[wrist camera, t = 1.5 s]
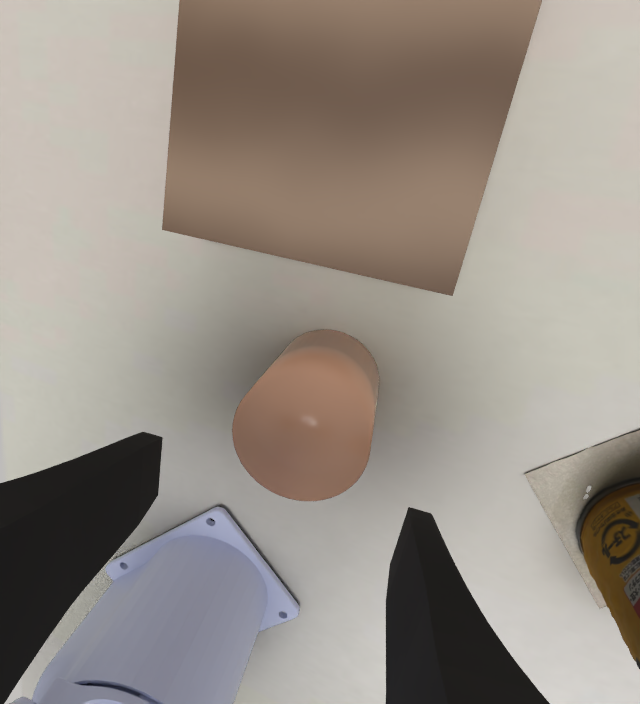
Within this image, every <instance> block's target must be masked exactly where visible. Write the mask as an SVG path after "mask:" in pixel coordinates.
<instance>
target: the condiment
mask: <svg viewBox="0 0 640 704" xmlns="http://www.w3.org/2000/svg"><path fill="white" fill-rule="evenodd" d="M525 476H526V478H527V479H528V481H529V483H530V485H531V487H532V488H533V490H534V492H535V494H536V496H537V497H538V499H539V501H540V503H541V505H542V506H543V508H544V510H545V512H546V513H547V515H548V517H549V519H550V521H551V523H552V524H553V526H554V528H555V530H556V531H557V533H558V535H559V537H560V539H561V540H562V542H563V544H564V546H565V547H566V549H567V551H568V553H569V555H570V556H571V558H572V560H573V562H574V564H575V565H576V567H577V569H578V571H579V573H580V574H581V576H582V578H583V580H584V582H585V583H586V585H587V587H588V589H589V591H590V592H591V594H592V596H593V598H594V600H595V601H596V603H597V605H598V607H599V609H600V608H603V607H606V606H607V607H608V608H609V609H610V612H611V615H612V617H613V618H614V619H615V621H616V623H617V626H618V628H619V630H620V633H621V635H622V638H623V640H624V642H625V643H626V645H627V646H628V648H629V651H630V653H631V655H632V657H633V659H634V660H635V661H636V663H637V666H638V667H639V669H640V430H639V431H636V432H633V433H629V434H626V435H623V436H621V437H618V438H616V439H613V440H610V441H608V442H605V443H603V444H600V445H597V446H594V447H592V446H591V447H590V448H587V449H585V450H584V451H582V452H580V453H578V454H575V455H573V456H570V457H568V458H565V459H561V460H558V461H555V462H552V463H550V464H549V465H547V466H544V467H542V468H539V469H537V470H534V471H531V472H529V473H526V474H525ZM589 485H591V486H592V487H591V490H590V492H588V493H587V492H586V488H587V486H589ZM585 494H588V495H589V497H588V498H587V499H583V497H584V496H585Z"/></svg>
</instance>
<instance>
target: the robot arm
mask: <svg viewBox="0 0 640 704" xmlns="http://www.w3.org/2000/svg"><path fill="white" fill-rule="evenodd" d="M161 450H162V437H159V436H156V435H152V434H149V433H145V432H141V433H138V434H136V435H133V436H130V437H128V438H125V439H123V440H120V441H118V442H115V443H113V444H110V445H108V446H105V447H103V448H100V449H98V450H95V451H93V452H90V453H88V454H85V455H83V456H80V457H78V458H75V459H73V460H70V461H67V462H64V463H62V464H59V465H56V466H53V467H50V468H48V469H45V470H42V471H39V472H36V473H33V474H30V475H27V476H24V477H21V478H17V479H14V480H10V481H7V482H3V483H0V704H4V703H5V701H6V700H7V698H8V697H9V695H10V693H11V692H12V690H13V689H14V687H15V686H16V684H17V683H18V681H19V680H20V678H21V677H22V675H23V674H24V672H25V671H26V669H27V668H28V666H29V665H30V663H31V662H32V660H33V659H34V657H35V656H36V654H37V653H38V651H39V650H40V649H41V647H42V646H43V644H44V643H45V641H46V640H47V638H48V637H49V635H50V634H51V633H52V631H53V630H54V628H55V627H56V626H57V624H58V623H59V621H60V620H61V619H62V617H63V616H64V614H65V613H66V611H67V610H68V609H69V607H70V606H71V605H72V603H73V602H74V601H75V600H76V598H77V597H78V596H79V595H80V593H81V592H82V591H83V590H84V588H85V587H86V586H87V585H88V584H89V583H90V581H91V580H92V579H93V578H94V577H95V576H96V574H97V573H98V572H99V571H100V570H101V569H102V567H103V566H104V565H105V564H106V563H107V562H108V560H109V559H110V558H111V557H112V556H113V555H114V553H115V552H116V551H117V550H118V549H119V548H120V546H121V545H122V544H123V543H124V542H125V540H126V539H127V538H128V537H129V536H130V535H131V533H132V532H133V531H134V530H135V528H136V527H137V526H138V525H139V523H140V522H141V520H142V519H143V517H144V516H145V514H146V513H147V511H148V510H149V508H150V507H151V505H152V504H153V502H154V500H155V499H156V497H157V496H158V488H159V475H160V462H161ZM210 518H212V519H213V520H214V521H211V520H210ZM106 572H107V574H108V575H109V576H110V578H111V579H112V580H113V583H112V584H111V585H110V587H109V588H108V589H107V590H106V592H105V593H104V594H103V595H102V597H101V598H100V599H99V601H98V602H97V603H96V604H95V606H94V607H93V608H92V610H91V611H90V612H89V613H88V615H87V616H86V617H85V618H84V620H83V621H82V622H81V624H80V625H79V626H78V627H77V629H76V630H75V631H74V633H73V634H72V635H71V636H70V638H69V639H68V640H67V641H66V643H65V644H64V645H63V647H62V648H61V649H60V650H59V652H58V653H57V654H56V656H55V657H54V658H53V659H52V661H51V662H50V663H49V665H48V666H47V668H46V669H45V671H44V672H43V674H42V676H41V677H40V679H39V682H38V684H37V686H36V689H35V691H34V694H33V698H32V700H30V699H28V698H26V697H20V698H18V699H16V700H15V701H13V702H12V703H9V704H233V703H234V700H235V697H236V695H237V692H238V689H239V686H240V683H241V680H242V677H243V674H244V671H245V669H246V666H247V663H248V660H249V657H250V654H251V651H252V648H253V645H254V643H255V640H256V637H257V634H258V632H260V631H263V630H265V629H268V628H270V627H273V626H276V625H278V624H281V623H283V622H286V621H288V620H291V619H294V618H296V617H297V616H298V614H299V611H300V607H299V605H298V603H297V602H296V601H295V600H294V598H293V597H292V596H291V594H290V593H289V592H288V590H287V589H286V588H285V587H284V585H283V584H282V583H281V581H280V580H279V579H278V577H277V576H276V575H275V573H274V572H273V571H272V570H271V568H270V567H269V566H268V564H267V563H266V562H265V560H264V559H263V558H262V557H261V555H260V554H259V553H258V551H257V550H256V549H255V547H254V546H253V545H252V543H251V542H250V541H249V540H248V538H247V537H246V536H245V534H244V533H243V532H242V530H241V529H240V528H239V527H238V525H237V524H236V523H235V521H234V520H233V519H232V517H231V516H230V515H229V514H228V512H227V511H226V510H225V509H224V508H221V507H215V508H213V509H211V510H209V511H207V512H205V513H203V514H201V515H199V516H197V517H195V518H194V519H192V520H190V521H188V522H186V523H184V524H182V525H180V526H178V527H176V528H174V529H172V530H170V531H168V532H166V533H165V534H163V535H161V536H159V537H157V538H155V539H153V540H151V541H149V542H147V543H145V544H143V545H141V546H139V547H137V548H136V549H134V550H132V551H130V552H128V553H126V554H124V555H122V556H120V557H118V558H116V559H114V560H112V561H111V562H110V563H109V564H108V565H107V566H106ZM282 611H283V612H282ZM284 612H285V613H284ZM386 704H550V703H549V702H548V701H547V700H546V699H545V698H544V696H543V695H542V694H541V693H540V692H539V691H538V689H537V688H536V687H535V685H534V684H533V683H532V682H531V680H530V679H529V678H528V677H527V675H526V674H525V673H524V672H523V670H522V669H521V668H520V667H519V665H518V664H517V663H516V661H515V660H514V659H513V657H512V656H511V655H510V653H509V652H508V651H507V649H506V648H505V646H504V645H503V644H502V642H501V641H500V639H499V638H498V636H497V635H496V633H495V632H494V631H493V629H492V628H491V626H490V625H489V623H488V622H487V620H486V618H485V617H484V615H483V614H482V612H481V610H480V609H479V607H478V605H477V603H476V602H475V600H474V598H473V597H472V595H471V593H470V591H469V590H468V588H467V586H466V584H465V582H464V580H463V579H462V577H461V575H460V573H459V571H458V569H457V567H456V565H455V563H454V561H453V559H452V557H451V555H450V553H449V551H448V549H447V547H446V544H445V542H444V540H443V538H442V536H441V534H440V531H439V529H438V527H437V524H436V522H435V520H434V518H433V516H432V514H431V513H427V512H424V511H420V510H417V509H413V508H410V507H409V508H408V511H407V514H406V517H405V520H404V523H403V526H402V529H401V532H400V536H399V539H398V542H397V545H396V548H395V551H394V554H393V557H392V560H391V563H390V570H389V578H388V587H387V597H386Z"/></svg>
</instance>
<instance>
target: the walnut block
mask: <svg viewBox="0 0 640 704" xmlns="http://www.w3.org/2000/svg"><path fill="white" fill-rule="evenodd" d="M541 2H542V0H180V2H179V15H178V28H177V41H176V55H175V68H174V81H173V94H172V107H171V120H170V133H169V147H168V160H167V173H166V186H165V199H164V212H163V226H162V230H166V231H170V232H175V233H179V234H183V235H188V236H192V237H196V238H201V239H205V240H210V241H214V242H218V243H223V244H227V245H232V246H236V247H240V248H245V249H249V250H253V251H258V252H262V253H267V254H271V255H275V256H280V257H284V258H289V259H293V260H297V261H302V262H306V263H311V264H315V265H319V266H324V267H328V268H332V269H337V270H341V271H346V272H350V273H354V274H359V275H363V276H368V277H372V278H376V279H381V280H385V281H389V282H394V283H398V284H403V285H407V286H411V287H416V288H420V289H425V290H429V291H433V292H438V293H442V294H446V295H451V296H453V293H454V289H455V286H456V283H457V279H458V276H459V273H460V269H461V266H462V263H463V260H464V256H465V253H466V250H467V246H468V243H469V240H470V236H471V233H472V230H473V227H474V223H475V220H476V217H477V213H478V210H479V207H480V203H481V200H482V197H483V194H484V190H485V187H486V184H487V180H488V177H489V174H490V170H491V167H492V164H493V161H494V157H495V154H496V151H497V147H498V144H499V141H500V137H501V134H502V131H503V128H504V124H505V121H506V118H507V114H508V111H509V108H510V104H511V101H512V98H513V95H514V91H515V88H516V85H517V81H518V78H519V75H520V71H521V68H522V65H523V62H524V58H525V55H526V52H527V48H528V45H529V42H530V38H531V35H532V32H533V29H534V25H535V22H536V19H537V15H538V12H539V9H540V5H541Z"/></svg>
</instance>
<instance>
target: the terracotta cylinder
mask: <svg viewBox="0 0 640 704" xmlns="http://www.w3.org/2000/svg"><path fill="white" fill-rule="evenodd" d="M378 391H379V372H378V368H377V365H376V363H375V360H374V359H373V357H372V355H371V354H370V352H369V351H368V350H367V348H366V347H365V346H364V345H363V344H362V343H360V342H359V341H358V340H356V339H355V338H353V337H352V336H350V335H347V334H345V333H342V332H339V331H334V330H315V331H311V332H308V333H305V334H303V335H301V336H299V337H297V338H296V339H294V340H293V341H292V342H291V343H290V344H289V345H288V346H287V347H286V348H285V349H284V351H283V352H282V353H281V354H280V355H279V356H278V358H277V359H276V360H275V361H274V362H273V363H272V365H271V366H270V367H269V368H268V369H267V370H266V372H265V373H264V374H263V375H262V376H261V378H260V379H259V380H258V381H257V382H256V383H255V385H254V386H253V387H252V388H251V389H250V390H249V392H248V393H247V394H246V395H245V396H244V398H243V399H242V400H241V402H240V404H239V406H238V407H237V410H236V413H235V415H234V420H233V429H232V433H233V442H234V447H235V450H236V452H237V455H238V457H239V459H240V461H241V463H242V465H243V466H244V468H245V469H246V470H247V472H248V473H249V474H250V475H251V476H252V477H253V478H254V479H255V480H256V481H257V482H258V483H259V484H261V485H262V486H263V487H265V488H266V489H268V490H270V491H271V492H273V493H276V494H278V495H280V496H283V497H286V498H289V499H293V500H299V501H318V500H324V499H328V498H332V497H334V496H337V495H339V494H341V493H342V492H344V491H346V490H347V489H348V488H350V487H351V486H352V485H353V484H354V483H355V482H356V481H357V480H358V479H359V478H360V476H361V475H362V473H363V471H364V470H365V468H366V465H367V462H368V460H369V455H370V449H371V442H372V434H373V427H374V420H375V413H376V406H377V398H378Z"/></svg>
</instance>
